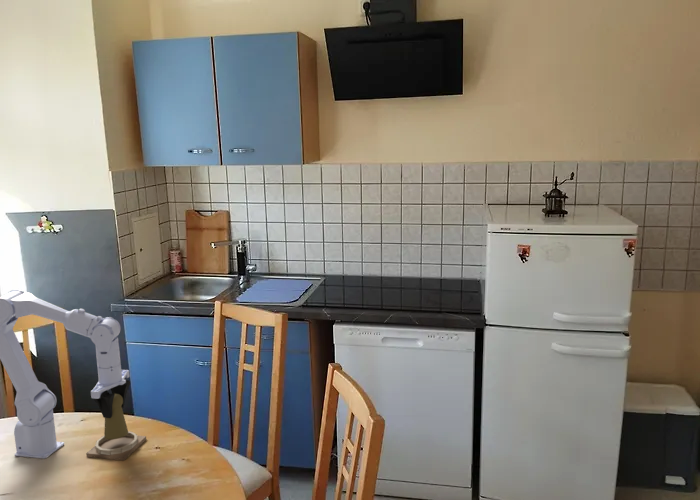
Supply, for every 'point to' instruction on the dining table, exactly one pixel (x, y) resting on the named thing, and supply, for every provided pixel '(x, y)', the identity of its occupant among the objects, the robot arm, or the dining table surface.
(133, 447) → the cup holder
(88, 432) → the dining table surface
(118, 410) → the cork
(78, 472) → the dining table surface
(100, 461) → the dining table surface
